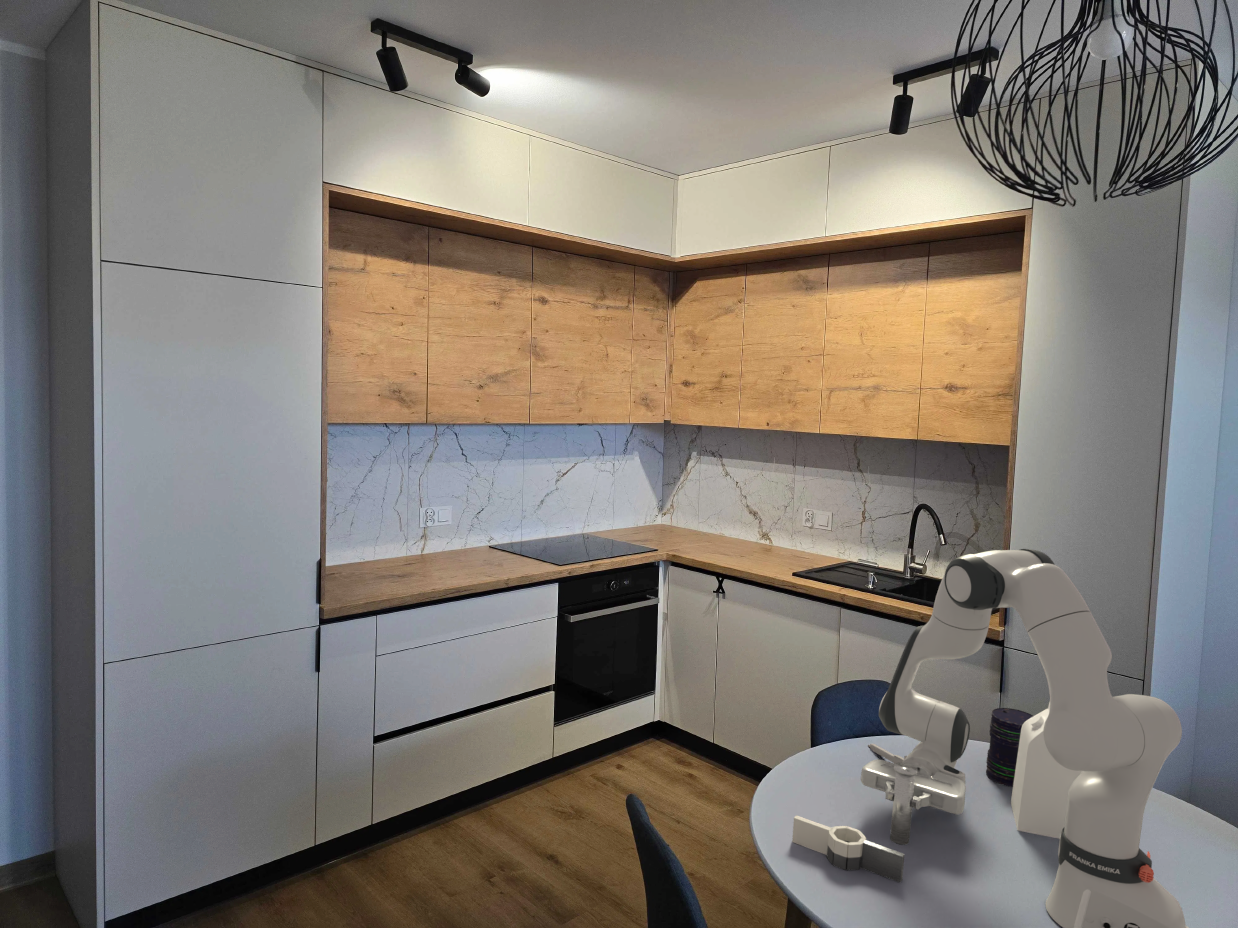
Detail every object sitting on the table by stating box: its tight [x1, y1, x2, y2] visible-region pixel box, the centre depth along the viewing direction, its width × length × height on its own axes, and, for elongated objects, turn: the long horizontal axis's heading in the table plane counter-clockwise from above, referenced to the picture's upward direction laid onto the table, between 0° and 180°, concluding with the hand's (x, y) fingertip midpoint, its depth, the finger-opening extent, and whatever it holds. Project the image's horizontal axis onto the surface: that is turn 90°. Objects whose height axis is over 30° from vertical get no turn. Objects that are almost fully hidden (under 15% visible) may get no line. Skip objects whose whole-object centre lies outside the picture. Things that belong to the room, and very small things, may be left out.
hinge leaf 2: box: [826, 839, 905, 883], centre depth 157 cm, size 14×6×5 cm, turn 55°
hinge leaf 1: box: [791, 815, 867, 858], centre depth 161 cm, size 14×6×5 cm, turn 55°
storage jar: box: [985, 707, 1034, 788], centre depth 196 cm, size 10×10×15 cm
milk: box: [1010, 701, 1082, 840], centre depth 176 cm, size 12×12×26 cm
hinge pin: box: [889, 763, 918, 846], centre depth 167 cm, size 4×4×15 cm
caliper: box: [867, 743, 908, 764], centre depth 200 cm, size 20×1×6 cm, turn 9°
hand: (901, 800), depth 166 cm, fingers closed on hinge pin, 4 cm apart
